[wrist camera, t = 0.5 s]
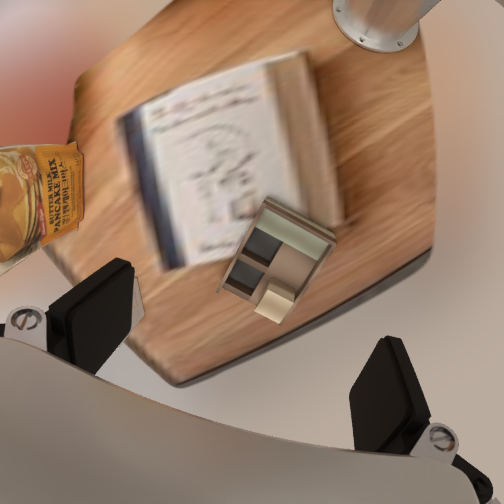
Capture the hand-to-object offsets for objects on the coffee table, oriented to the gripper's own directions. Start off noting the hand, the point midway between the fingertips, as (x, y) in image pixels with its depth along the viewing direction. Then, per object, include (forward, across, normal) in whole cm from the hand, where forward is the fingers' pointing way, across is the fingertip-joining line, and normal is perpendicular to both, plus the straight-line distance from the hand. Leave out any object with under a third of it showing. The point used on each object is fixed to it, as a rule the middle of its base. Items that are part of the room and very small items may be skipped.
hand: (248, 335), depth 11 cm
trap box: (+35, -1, +10) cm, 36 cm away
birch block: (+32, -2, +14) cm, 35 cm away
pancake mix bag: (+35, +37, +8) cm, 51 cm away
